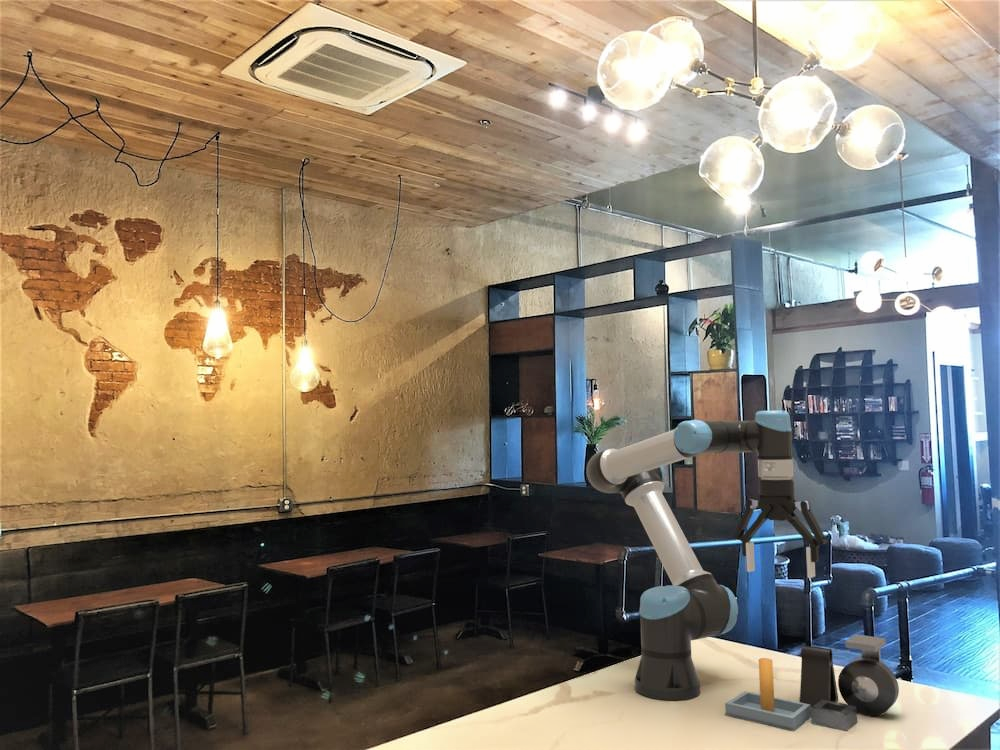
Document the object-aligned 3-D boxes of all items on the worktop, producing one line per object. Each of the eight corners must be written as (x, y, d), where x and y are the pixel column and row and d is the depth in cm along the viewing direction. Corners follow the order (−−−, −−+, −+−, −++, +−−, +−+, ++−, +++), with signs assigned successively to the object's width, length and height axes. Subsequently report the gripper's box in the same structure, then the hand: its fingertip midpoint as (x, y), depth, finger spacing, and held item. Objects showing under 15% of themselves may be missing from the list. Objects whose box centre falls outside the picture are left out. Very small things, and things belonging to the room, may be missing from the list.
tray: (725, 715, 162) (725, 703, 162) (745, 702, 169) (745, 691, 170) (793, 731, 152) (792, 718, 152) (811, 716, 160) (810, 704, 160)
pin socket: (811, 723, 156) (810, 708, 157) (822, 713, 162) (821, 699, 162) (847, 731, 152) (846, 715, 152) (857, 721, 157) (856, 706, 157)
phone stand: (828, 711, 164) (825, 654, 165) (799, 705, 167) (796, 649, 168) (838, 699, 171) (835, 645, 172) (811, 694, 174) (808, 641, 175)
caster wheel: (836, 712, 163) (833, 639, 164) (848, 702, 169) (844, 632, 170) (892, 723, 155) (888, 647, 157) (902, 713, 162) (898, 640, 163)
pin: (758, 713, 161) (756, 660, 162) (763, 710, 163) (761, 657, 164) (772, 716, 159) (769, 662, 160) (776, 712, 161) (774, 659, 162)
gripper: (716, 478, 176) (720, 570, 174) (827, 480, 160) (833, 582, 158) (730, 477, 182) (734, 566, 180) (838, 478, 166) (844, 577, 164)
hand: (780, 574), depth 169 cm, fingers open, 13 cm apart
